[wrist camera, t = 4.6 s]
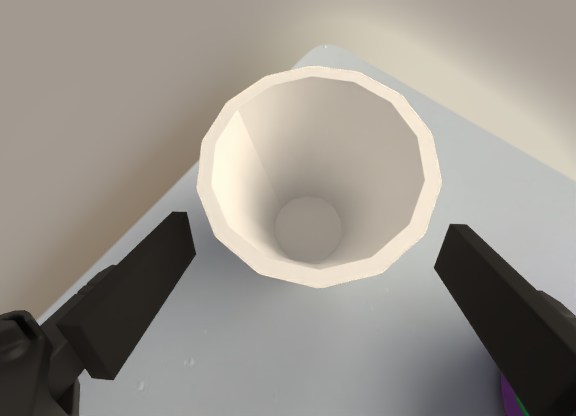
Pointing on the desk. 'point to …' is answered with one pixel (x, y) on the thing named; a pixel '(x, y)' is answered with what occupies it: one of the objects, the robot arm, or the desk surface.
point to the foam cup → (318, 176)
